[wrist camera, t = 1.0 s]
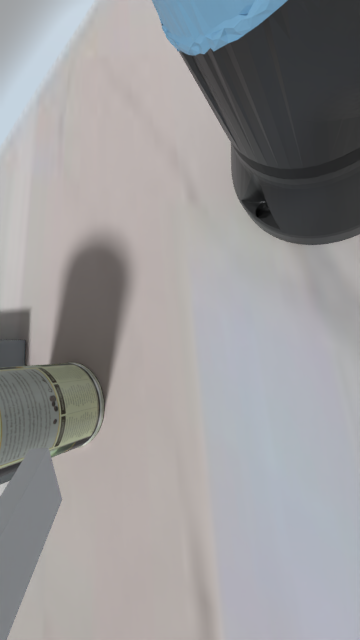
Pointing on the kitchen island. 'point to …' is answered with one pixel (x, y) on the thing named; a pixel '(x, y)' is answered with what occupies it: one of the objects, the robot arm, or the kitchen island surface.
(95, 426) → the coffee can
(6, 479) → the grey square tray
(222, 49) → the robot arm
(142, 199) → the kitchen island surface
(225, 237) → the kitchen island surface
